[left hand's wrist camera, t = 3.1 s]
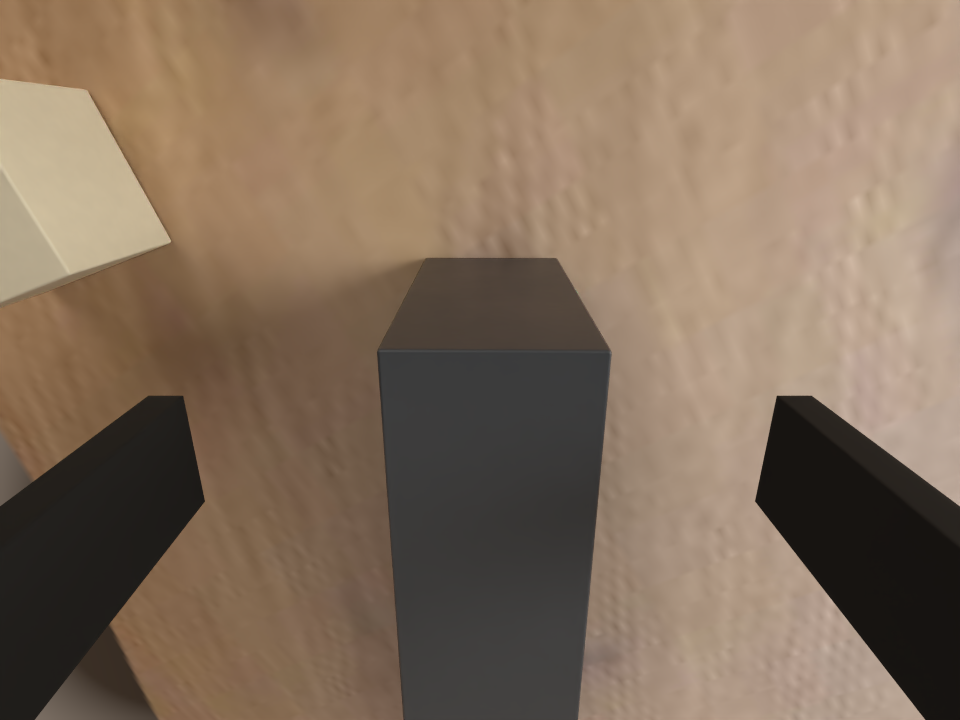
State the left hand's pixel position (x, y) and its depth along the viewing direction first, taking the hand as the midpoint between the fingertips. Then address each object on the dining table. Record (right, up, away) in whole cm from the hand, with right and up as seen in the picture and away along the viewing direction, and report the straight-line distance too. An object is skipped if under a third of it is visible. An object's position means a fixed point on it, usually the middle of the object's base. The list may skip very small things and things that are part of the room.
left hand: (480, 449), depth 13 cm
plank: (0, -6, +11) cm, 12 cm away
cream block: (-14, +7, +6) cm, 17 cm away
